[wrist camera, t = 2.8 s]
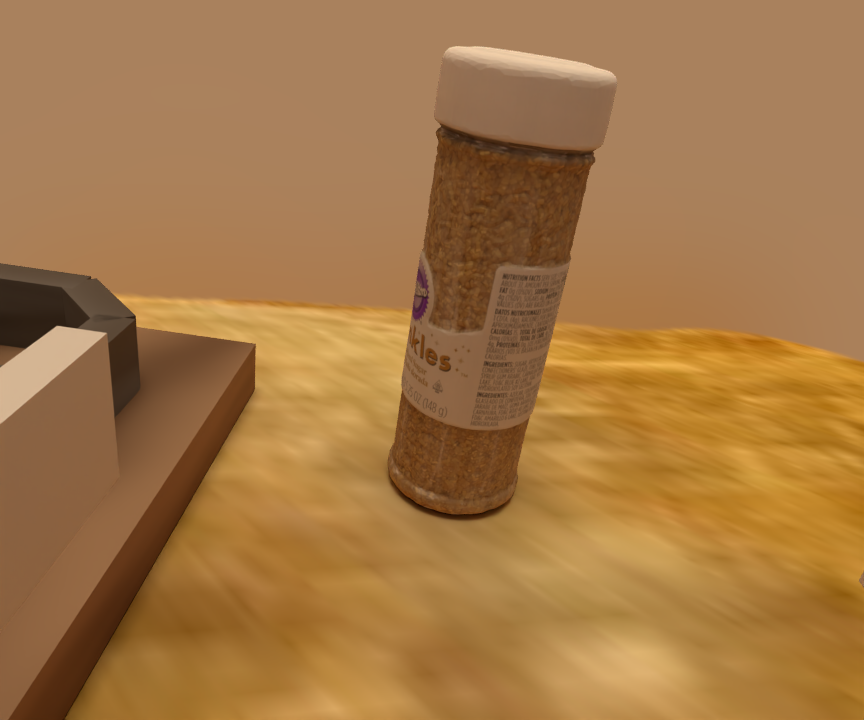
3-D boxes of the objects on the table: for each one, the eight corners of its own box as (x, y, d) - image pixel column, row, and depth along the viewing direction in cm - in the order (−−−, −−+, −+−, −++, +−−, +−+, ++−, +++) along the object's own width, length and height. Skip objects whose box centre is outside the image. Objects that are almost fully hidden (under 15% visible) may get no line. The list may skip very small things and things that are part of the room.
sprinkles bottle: (366, 451, 24) (413, 35, 18) (475, 432, 26) (551, 55, 20) (422, 535, 20) (505, 54, 14) (543, 506, 22) (660, 75, 16)
